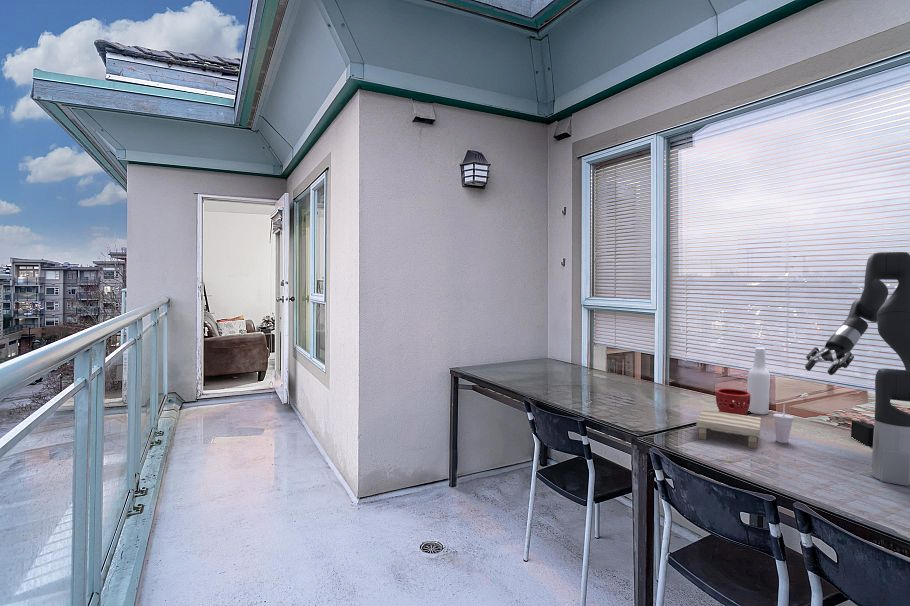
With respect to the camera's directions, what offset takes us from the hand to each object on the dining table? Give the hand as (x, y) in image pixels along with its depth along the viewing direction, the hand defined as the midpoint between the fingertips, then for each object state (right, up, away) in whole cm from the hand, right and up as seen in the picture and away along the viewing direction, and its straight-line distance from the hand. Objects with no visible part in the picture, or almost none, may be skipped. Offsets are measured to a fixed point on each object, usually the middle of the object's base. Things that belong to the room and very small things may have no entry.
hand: (818, 371), depth 180 cm
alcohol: (+5, -25, +44) cm, 51 cm away
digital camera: (+20, -27, +2) cm, 34 cm away
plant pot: (-14, -25, +32) cm, 43 cm away
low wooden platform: (-31, -26, +4) cm, 40 cm away
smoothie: (-13, -26, +1) cm, 29 cm away
